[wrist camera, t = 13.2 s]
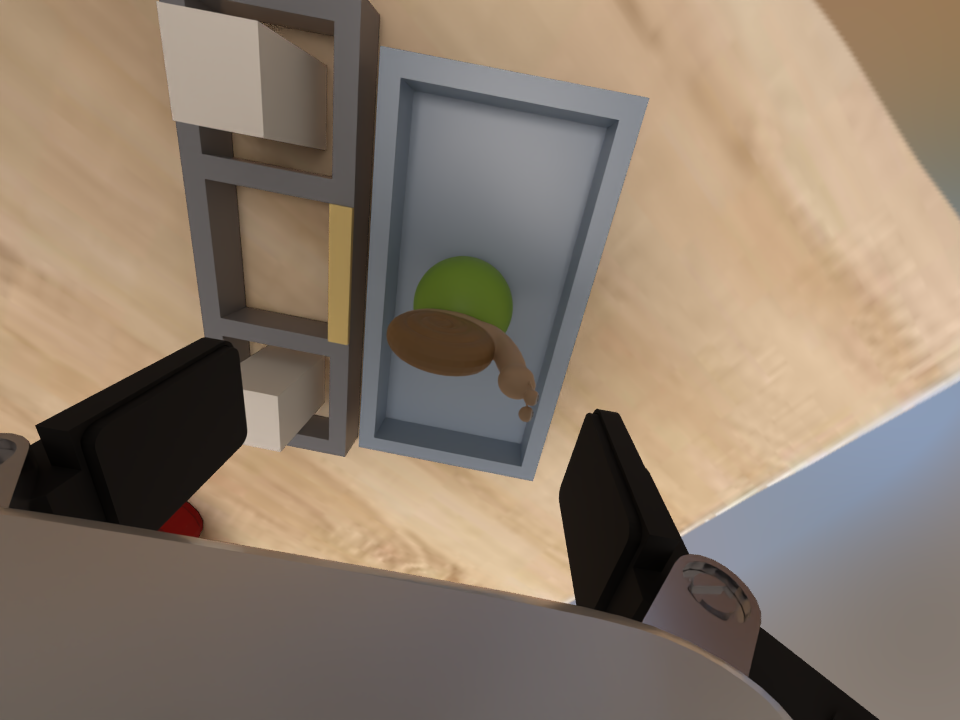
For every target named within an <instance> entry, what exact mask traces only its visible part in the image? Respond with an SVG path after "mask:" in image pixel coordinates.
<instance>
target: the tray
mask: <svg viewBox="0 0 960 720" xmlns="http://www.w3.org/2000/svg"><path fill="white" fill-rule="evenodd" d="M648 101H649V98H646V97H641V96H636V95H631V94H626V93H621V92H616V91H610V90H605V89H600V88H595V87H590V86H585V85H579V84H574V83H569V82H564V81H559V80H554V79H549V78H543V77H538V76H533V75H528V74H523V73H518V72H513V71H507V70H502V69H497V68H492V67H487V66H482V65H477V64H471V63H466V62H461V61H456V60H451V59H446V58H441V57H435V56H430V55H425V54H420V53H415V52H410V51H405V50H399V49H394V48H389V47H384V46H380V59H379V78H378V97H377V115H376V134H375V153H374V171H373V190H372V208H371V227H370V246H369V264H368V283H367V302H366V320H365V339H364V357H363V376H362V395H361V413H360V432H359V447H362V448H367V449H373V450H378V451H383V452H388V453H393V454H398V455H403V456H408V457H413V458H418V459H423V460H428V461H433V462H438V463H443V464H448V465H453V466H458V467H464V468H469V469H474V470H479V471H484V472H489V473H494V474H499V475H504V476H509V477H514V478H519V479H524V480H529V481H533V479H534V476H535V472H536V469H537V466H538V463H539V459H540V456H541V453H542V449H543V446H544V443H545V440H546V436H547V433H548V430H549V426H550V423H551V420H552V416H553V413H554V410H555V407H556V403H557V400H558V397H559V393H560V390H561V387H562V384H563V380H564V377H565V374H566V370H567V367H568V364H569V361H570V357H571V354H572V351H573V347H574V344H575V341H576V338H577V334H578V331H579V328H580V324H581V321H582V318H583V315H584V311H585V308H586V305H587V301H588V298H589V295H590V292H591V288H592V285H593V282H594V278H595V275H596V272H597V269H598V265H599V262H600V259H601V255H602V252H603V249H604V246H605V242H606V239H607V236H608V232H609V229H610V226H611V223H612V219H613V216H614V213H615V209H616V206H617V203H618V199H619V196H620V193H621V190H622V186H623V183H624V180H625V176H626V173H627V170H628V167H629V163H630V160H631V157H632V153H633V150H634V147H635V144H636V140H637V137H638V134H639V130H640V127H641V124H642V121H643V117H644V114H645V111H646V107H647V104H648ZM456 256H470V257H475V258H478V259H481V260H484V261H486V262H487V263H489V264H491V265H492V266H493V267H495V268H496V269H497V270H498V271H499V272H500V273H501V274H502V276H503V277H504V279H505V280H506V282H507V284H508V286H509V288H510V291H511V295H512V300H513V313H512V318H511V322H510V325H509V327H508V329H507V331H506V333H505V334H506V335H508V336H509V337H510V338H511V339H512V341H513V342H514V343H515V344H516V346H517V347H518V349H519V350H520V352H521V354H522V356H523V358H524V361H525V364H526V367H527V368H528V369H529V370H530V371H531V372H532V373H533V375H534V380H535V384H536V387H535V391H537V392H538V394H539V399H538V402H537V404H536V405H534V406H529V405H528V407H531V408H532V409H533V417H532V419H531V421H529V422H523V421H522V420H521V419H520V418H519V415H518V413H519V410H520V409H521V408H522V407H524V406H526V403H525V401H524V399H519V400H516V399H511V398H509V397H507V396H506V395H504V394H503V393H502V391H501V390H500V388H499V386H498V376H499V374H500V372H499V370H498V368H497V366H496V364H495V361H494V360H492V362H491V363H490V365H489V366H488V367H487V368H486V369H484V370H483V371H481V372H479V373H477V374H473V375H469V376H458V377H455V376H443V375H437V374H433V373H429V372H426V371H423V370H420V369H418V368H415V367H413V366H411V365H409V364H408V363H406V362H404V361H403V360H401V359H400V358H399V357H398V356H397V355H396V354H395V353H394V352H393V351H392V349H391V348H390V346H389V344H388V341H387V328H388V326H389V324H390V323H391V321H392V320H393V319H394V318H395V317H397V316H398V315H400V314H403V313H405V312H407V311H411V310H414V309H413V302H414V295H415V291H416V288H417V286H418V284H419V282H420V280H421V278H422V277H423V276H424V274H425V273H426V272H427V271H428V270H429V269H430V268H431V267H432V266H434V265H435V264H437V263H438V262H440V261H442V260H445V259H447V258H451V257H456Z"/></svg>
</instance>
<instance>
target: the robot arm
mask: <svg viewBox="0 0 960 720" xmlns="http://www.w3.org/2000/svg"><path fill="white" fill-rule="evenodd" d="M35 426H36V429H37V431H38V434H39V436H40V440H39V441H37V442H35V443H33V444H32V445H30V443H29V441H28V440H27V439H26V438H24V437H23V436H20V435H16V434H12V433H0V720H879V719H878V718H876V717H875V716H874V715H872V714H871V713H870V712H869V711H868V710H866V709H865V708H864V707H862V706H861V705H860V704H859V703H857V702H856V701H855V700H853V699H852V698H851V697H849V696H848V695H847V694H846V693H844V692H843V691H842V690H840V689H839V688H838V687H837V686H835V685H834V684H833V683H832V682H830V681H829V680H828V679H826V678H825V677H824V676H823V675H821V674H820V673H819V672H818V671H816V670H815V669H814V668H812V667H811V666H810V665H808V664H807V663H806V662H805V661H803V660H802V659H801V658H800V657H798V656H797V655H795V654H794V653H793V652H792V651H791V650H789V649H788V648H787V647H785V646H784V645H783V644H782V643H780V642H779V641H778V640H776V639H775V638H774V637H773V636H771V635H770V634H769V633H768V632H766V631H765V630H764V629H762V628H761V627H760V625H761V611H760V608H759V605H758V603H757V600H756V598H755V597H754V595H753V594H752V592H751V591H750V589H749V588H748V587H747V586H746V585H745V584H744V583H743V582H742V581H741V579H739V578H738V576H737V575H735V574H734V573H733V572H732V571H730V570H729V569H728V568H726V567H725V566H723V565H722V564H720V563H718V562H716V561H714V560H712V559H710V558H707V557H704V556H701V555H694V554H689V553H688V551H687V549H686V547H685V545H684V542H683V540H682V539H681V536H680V534H679V532H678V530H677V528H676V526H675V524H674V522H673V520H672V518H671V516H670V514H669V512H668V510H667V508H666V506H665V504H664V502H663V500H662V497H661V495H660V493H659V491H658V489H657V487H656V485H655V483H654V481H653V479H652V477H651V475H650V473H649V472H648V470H647V469H646V468H645V466H644V464H643V462H642V460H641V458H640V456H639V454H638V452H637V450H636V448H635V445H634V443H633V441H632V439H631V437H630V435H629V433H628V431H627V429H626V427H625V425H624V423H623V421H622V419H621V416H620V415H619V413H616V412H611V411H605V410H600V409H596V410H595V411H594V412H593V414H592V413H588V414H587V415H586V417H585V419H584V422H583V425H582V428H581V430H580V433H579V436H578V439H577V442H576V445H575V447H574V450H573V453H572V456H571V459H570V461H569V464H568V467H567V470H566V473H565V476H564V478H563V481H562V484H561V487H560V491H559V503H560V509H561V515H562V521H563V528H564V534H565V540H566V546H567V552H568V558H569V564H570V570H571V576H572V582H573V588H574V594H575V600H576V605H571V604H566V603H561V602H556V601H551V600H546V599H541V598H536V597H531V596H526V595H521V594H516V593H510V592H505V591H500V590H494V589H489V588H483V587H478V586H472V585H466V584H461V583H455V582H450V581H444V580H438V579H433V578H427V577H422V576H416V575H410V574H405V573H399V572H394V571H388V570H382V569H377V568H371V567H365V566H360V565H354V564H348V563H342V562H337V561H331V560H325V559H319V558H314V557H308V556H302V555H296V554H290V553H285V552H279V551H273V550H267V549H261V548H255V547H250V546H244V545H238V544H232V543H226V542H220V541H214V540H208V539H202V538H196V537H190V536H184V535H178V534H172V533H166V532H160V531H158V530H159V529H160V528H161V527H162V526H163V525H164V524H165V523H166V522H167V521H168V520H169V519H170V518H171V517H172V516H173V515H174V514H175V513H176V512H177V511H178V510H179V508H180V507H181V506H182V505H183V504H184V503H185V502H186V501H187V500H188V499H189V498H190V497H191V496H192V495H193V494H194V493H195V492H196V491H197V490H198V489H199V488H200V487H201V486H202V485H203V484H204V483H205V482H206V481H207V480H208V479H209V478H210V477H211V476H212V475H213V474H214V473H215V472H216V471H217V470H218V469H219V468H220V467H221V466H222V465H223V464H224V463H225V462H226V461H227V460H228V459H229V458H230V457H231V456H232V455H233V454H234V453H235V452H236V451H237V450H238V449H239V448H240V447H241V446H242V445H243V443H244V442H245V440H246V437H247V421H246V412H245V403H244V394H243V385H242V375H241V366H240V357H239V352H238V350H237V349H236V348H234V347H233V345H232V343H231V342H229V341H224V340H219V339H213V338H208V337H204V338H201V339H199V340H197V341H195V342H193V343H191V344H190V345H188V346H186V347H184V348H182V349H180V350H178V351H176V352H174V353H172V354H171V355H169V356H167V357H165V358H163V359H161V360H159V361H157V362H155V363H153V364H152V365H150V366H148V367H146V368H144V369H142V370H140V371H138V372H136V373H134V374H132V375H131V376H129V377H127V378H125V379H123V380H121V381H119V382H117V383H115V384H113V385H112V386H110V387H108V388H106V389H104V390H102V391H100V392H98V393H96V394H94V395H93V396H91V397H89V398H87V399H85V400H83V401H81V402H79V403H77V404H75V405H73V406H72V407H70V408H68V409H66V410H64V411H62V412H60V413H58V414H56V415H54V416H53V417H51V418H49V419H47V420H45V421H43V422H41V423H39V424H37V425H35Z"/></svg>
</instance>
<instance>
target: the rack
mask: <svg viewBox="0 0 960 720" xmlns="http://www.w3.org/2000/svg"><path fill="white" fill-rule="evenodd" d="M159 2H163V3H168V4H173V5H179V6H184V7H189V8H194V9H199V10H204V11H210V12H215V13H220V14H225V15H230V16H235V17H241V18H246V19H251V20H256V21H259V22H264V23H269V24H274V25H279V26H284V27H290V28H295V29H300V30H305V31H310V32H315V33H320V34H326V35H331V36H334V89H333V165H332V176H326V175H321V174H316V173H311V172H306V171H301V170H296V169H291V168H286V167H280V166H275V165H270V164H265V163H260V162H255V161H250V160H245V159H239V158H234V157H233V145H232V133H231V132H229V131H224V130H219V129H214V128H209V127H204V126H199V125H194V124H188V123H183V122H178V121H176V128H177V135H178V143H179V150H180V157H181V165H182V172H183V180H184V187H185V194H186V202H187V209H188V217H189V224H190V231H191V239H192V246H193V254H194V261H195V268H196V276H197V283H198V291H199V298H200V306H201V313H202V320H203V328H204V335H205V337H208V338H213V339H219V340H224V341H229V342H231V343H232V345H233V347H234V348H236V349H237V350H238V352H239V357H240V363H241V362H242V361H244V360H246V359H247V358H249V357H250V349H249V341H252V342H257V343H262V344H267V345H272V346H277V347H282V348H287V349H292V350H297V351H303V352H308V353H313V354H318V355H323V356H328V357H330V394H329V418H326V417H321V416H316V415H313V416H312V417H311V418H310V419H309V420H308V422H307V423H306V424H305V425H304V426H303V427H302V428H301V429H300V431H299V432H298V433H297V434H296V435H295V436H294V437H293V438H292V440H291V441H290V442H289V443H288V444H287V446H292V447H297V448H303V449H308V450H313V451H318V452H323V453H328V454H333V455H338V456H343V457H345V456H346V455H347V453H348V451H349V450H350V448H351V447H352V445H353V443H354V442H355V440H356V439H357V437H358V425H359V406H360V386H361V367H362V348H363V329H364V309H365V290H366V271H367V251H368V232H369V213H370V194H371V174H372V155H373V136H374V117H375V97H376V78H377V59H378V39H379V20H380V15H379V13H378V12H377V11H376V10H375V8H374V7H373V6H372V5H371V3H370V2H369V1H368V0H159ZM236 185H239V186H244V187H249V188H255V189H260V190H265V191H270V192H275V193H280V194H285V195H290V196H295V197H300V198H306V199H311V200H316V201H321V202H326V203H331V204H329V270H328V323H326V322H321V321H315V320H310V319H305V318H300V317H295V316H290V315H285V314H280V313H275V312H270V311H265V310H260V309H254V308H249V307H246V301H245V289H244V277H243V265H242V253H241V241H240V229H239V217H238V205H237V193H236Z"/></svg>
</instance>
